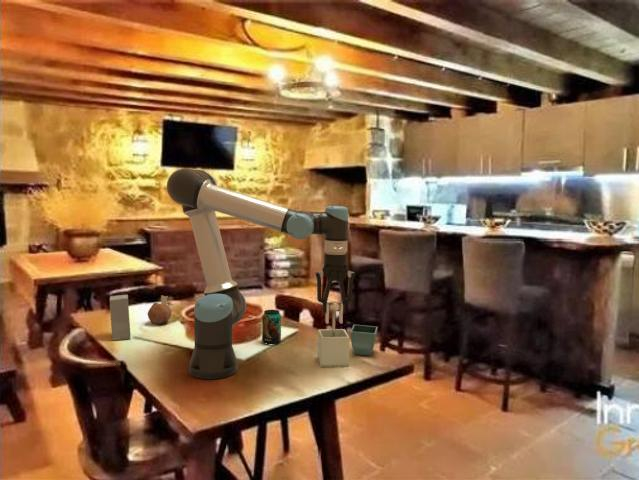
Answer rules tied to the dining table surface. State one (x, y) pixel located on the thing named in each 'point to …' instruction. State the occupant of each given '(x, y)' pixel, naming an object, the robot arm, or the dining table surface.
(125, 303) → the skincare box
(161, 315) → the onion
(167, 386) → the dining table surface
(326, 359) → the cream square planter
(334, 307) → the plunger
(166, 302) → the architectural model
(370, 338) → the flower pot
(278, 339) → the beverage can
